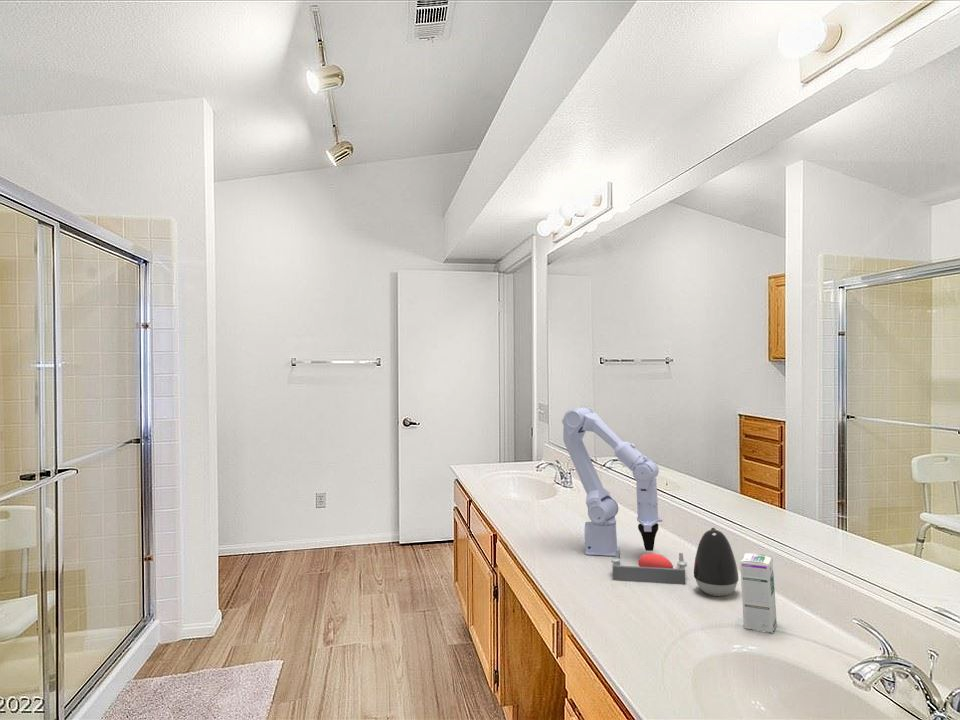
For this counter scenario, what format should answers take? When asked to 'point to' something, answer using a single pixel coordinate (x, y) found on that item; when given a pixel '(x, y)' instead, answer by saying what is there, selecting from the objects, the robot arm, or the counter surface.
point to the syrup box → (758, 592)
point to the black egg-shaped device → (715, 564)
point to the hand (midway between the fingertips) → (649, 550)
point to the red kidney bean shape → (654, 561)
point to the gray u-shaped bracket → (649, 572)
